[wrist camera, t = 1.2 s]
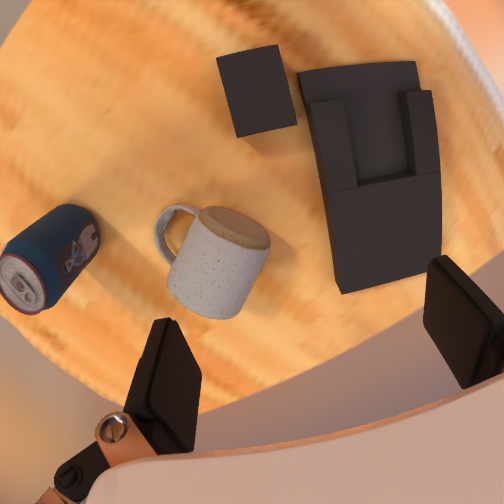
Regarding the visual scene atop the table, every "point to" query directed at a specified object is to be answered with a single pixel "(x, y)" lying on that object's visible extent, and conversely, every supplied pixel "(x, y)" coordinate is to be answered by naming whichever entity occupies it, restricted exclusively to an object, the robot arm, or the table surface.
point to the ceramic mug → (213, 260)
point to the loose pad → (256, 90)
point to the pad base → (376, 170)
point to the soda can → (47, 258)
